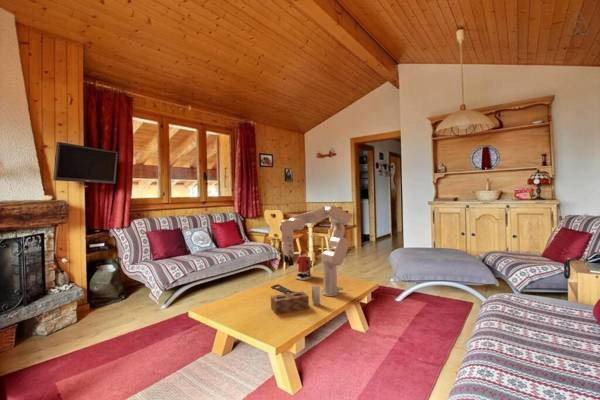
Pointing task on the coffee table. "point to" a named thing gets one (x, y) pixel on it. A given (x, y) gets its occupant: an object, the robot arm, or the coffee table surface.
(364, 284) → the coffee table surface
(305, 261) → the santa figurine
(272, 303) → the slotted wooden block
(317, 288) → the pinkish wooden bar
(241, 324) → the coffee table surface
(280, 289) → the zipper pull
